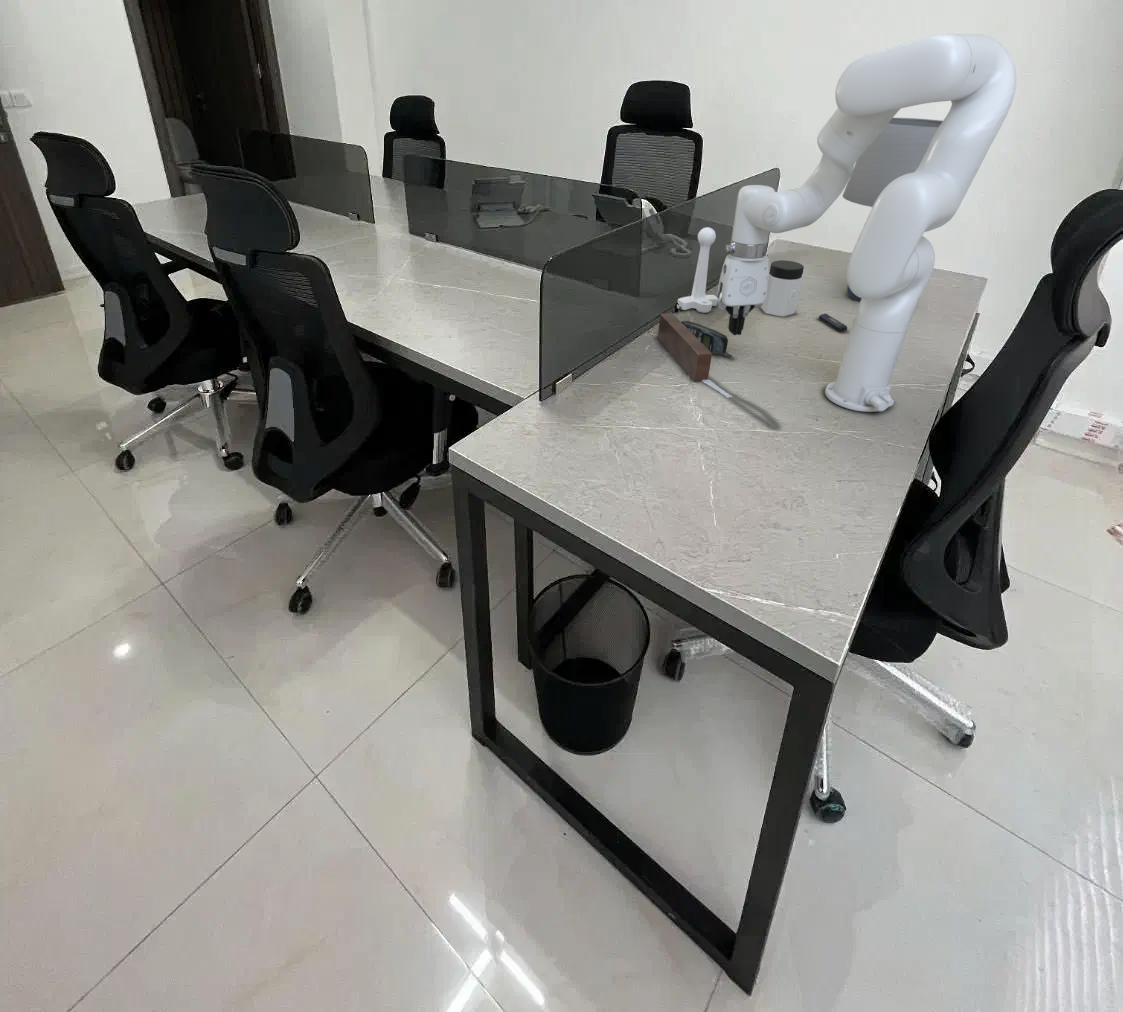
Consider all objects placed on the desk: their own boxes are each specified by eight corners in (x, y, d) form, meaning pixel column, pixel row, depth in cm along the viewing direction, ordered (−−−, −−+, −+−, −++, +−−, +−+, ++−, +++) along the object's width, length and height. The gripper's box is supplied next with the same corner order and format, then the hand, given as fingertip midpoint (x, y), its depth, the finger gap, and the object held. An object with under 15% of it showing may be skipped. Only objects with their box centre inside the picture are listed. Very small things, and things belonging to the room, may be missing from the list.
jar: (777, 318, 169) (788, 271, 162) (754, 309, 174) (763, 263, 167) (800, 312, 173) (812, 266, 166) (777, 303, 178) (787, 258, 171)
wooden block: (707, 380, 138) (712, 353, 135) (694, 381, 138) (698, 354, 134) (669, 337, 157) (672, 313, 153) (657, 338, 156) (660, 313, 153)
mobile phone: (677, 320, 153) (728, 338, 143) (685, 317, 154) (737, 335, 145) (675, 341, 156) (725, 360, 146) (683, 338, 157) (733, 356, 148)
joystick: (709, 301, 178) (722, 224, 167) (725, 310, 173) (738, 231, 161) (674, 306, 175) (684, 227, 163) (688, 315, 169) (700, 234, 157)
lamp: (821, 308, 176) (869, 125, 151) (815, 280, 196) (856, 114, 171) (921, 317, 172) (988, 131, 146) (904, 288, 191) (960, 119, 166)
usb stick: (817, 319, 169) (818, 313, 168) (825, 318, 170) (827, 312, 169) (838, 332, 162) (840, 326, 161) (847, 331, 162) (849, 325, 161)
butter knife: (699, 368, 142) (688, 370, 141) (782, 426, 123) (770, 429, 122) (699, 371, 142) (688, 373, 141) (781, 429, 123) (769, 431, 122)
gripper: (722, 256, 135) (710, 341, 146) (788, 252, 138) (772, 336, 148) (708, 247, 141) (698, 329, 152) (771, 243, 144) (757, 325, 154)
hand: (734, 332), depth 150 cm, fingers closed
